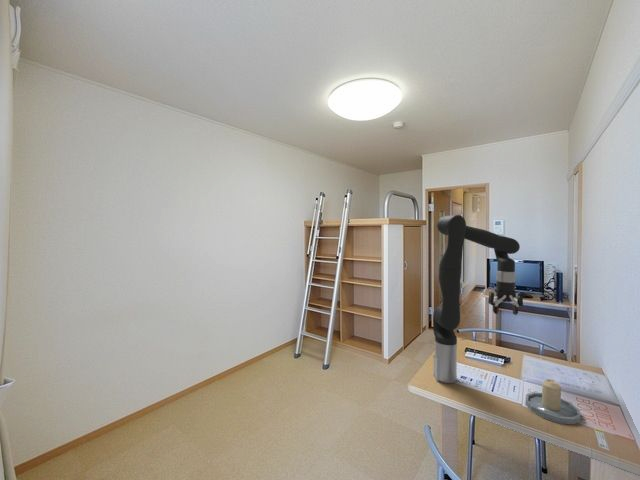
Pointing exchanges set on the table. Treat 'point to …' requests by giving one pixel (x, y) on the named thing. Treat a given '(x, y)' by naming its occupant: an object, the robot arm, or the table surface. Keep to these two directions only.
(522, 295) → the robot arm
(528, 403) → the dish
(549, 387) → the candle
